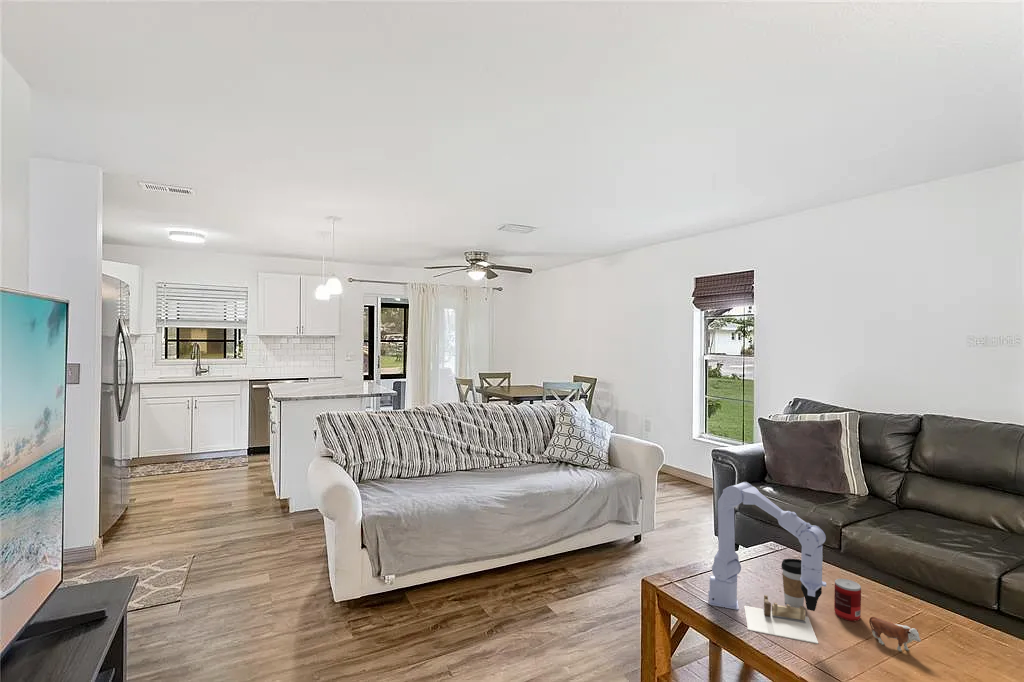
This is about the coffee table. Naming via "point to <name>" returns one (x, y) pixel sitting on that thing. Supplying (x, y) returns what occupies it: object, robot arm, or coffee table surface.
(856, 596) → the canned food
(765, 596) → the wooden pieces
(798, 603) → the coffee cup
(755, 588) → the coffee table surface
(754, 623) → the card
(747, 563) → the coffee table surface
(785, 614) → the fence panel
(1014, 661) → the coffee table surface
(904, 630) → the bull figurine
